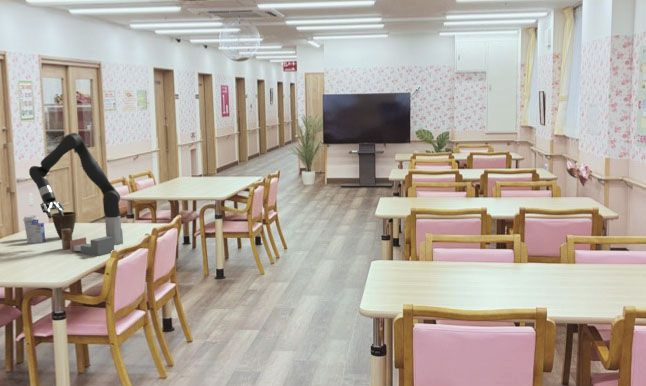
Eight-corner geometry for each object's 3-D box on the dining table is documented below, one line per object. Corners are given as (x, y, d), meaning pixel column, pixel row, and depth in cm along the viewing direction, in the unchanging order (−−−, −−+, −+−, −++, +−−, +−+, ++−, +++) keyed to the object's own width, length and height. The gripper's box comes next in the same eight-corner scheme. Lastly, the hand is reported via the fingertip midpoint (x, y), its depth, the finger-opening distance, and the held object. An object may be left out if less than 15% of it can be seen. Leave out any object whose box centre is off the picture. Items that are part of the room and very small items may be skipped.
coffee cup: (34, 240, 472) (33, 217, 470) (21, 240, 474) (19, 217, 472) (43, 237, 481) (41, 215, 479) (30, 237, 483) (28, 215, 481)
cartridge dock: (81, 253, 427) (80, 238, 426) (96, 249, 437) (96, 235, 436) (98, 256, 419) (97, 240, 418) (114, 252, 430) (113, 237, 428)
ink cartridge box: (45, 241, 468) (44, 219, 466) (42, 243, 463) (40, 220, 461) (30, 241, 468) (28, 219, 466) (27, 243, 463) (25, 220, 461)
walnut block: (70, 247, 446) (69, 228, 445) (72, 248, 442) (71, 229, 440) (62, 248, 444) (61, 229, 442) (64, 250, 439) (62, 230, 438)
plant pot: (64, 240, 469) (62, 216, 467) (48, 238, 477) (46, 214, 475) (82, 236, 482) (80, 212, 480) (66, 234, 489) (65, 211, 487)
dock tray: (70, 250, 432) (69, 240, 432) (85, 247, 442) (84, 237, 441) (82, 252, 427) (81, 242, 426) (96, 248, 436) (96, 238, 436)
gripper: (40, 192, 441) (50, 215, 437) (60, 191, 453) (69, 213, 449) (34, 198, 445) (43, 221, 441) (53, 197, 457) (62, 219, 453)
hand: (56, 217), depth 445 cm, fingers open, 8 cm apart
